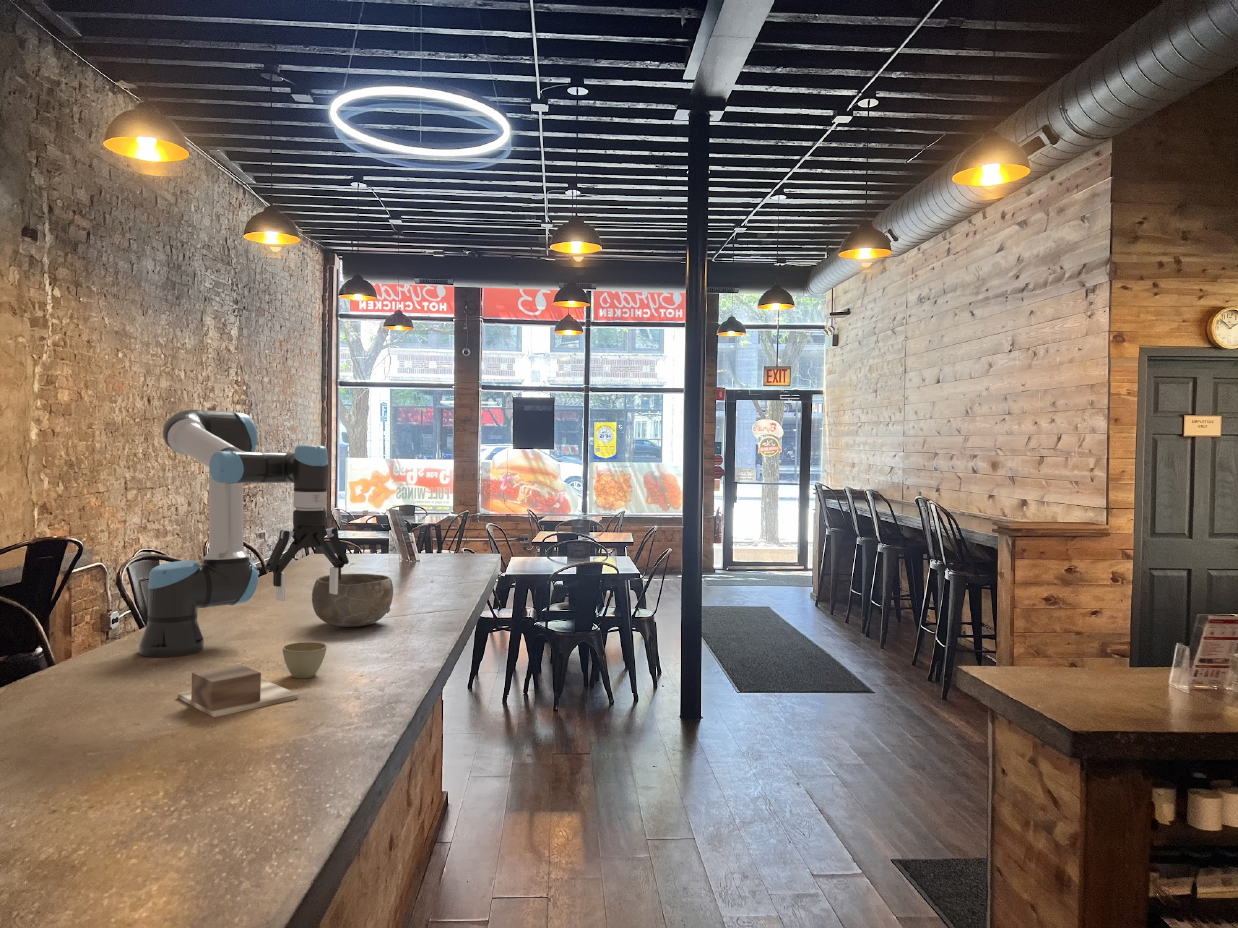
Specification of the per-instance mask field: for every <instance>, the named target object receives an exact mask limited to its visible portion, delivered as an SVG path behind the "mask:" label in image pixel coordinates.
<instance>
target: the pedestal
mask: <svg viewBox="0 0 1238 928" xmlns="http://www.w3.org/2000/svg"><path fill="white" fill-rule="evenodd" d="M261 678H262V672H259V671H258V670H255V669H252V668H250V667H248V666H247V665H246V666H245V665H243V664H241V663H237V664H231V665H225V666H220V667H214V668H208V669H203V670H197V671H193V672H191V691H192V692H191V701H193V702H195V703H197V704H199V705H201V706H203V707H205V708H206V709H208V710H210V711H216V710H220V709H225V708H230V707H234V706H239V705H244V704H248V703H253V702H257V701H260V690H261Z"/></svg>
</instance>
